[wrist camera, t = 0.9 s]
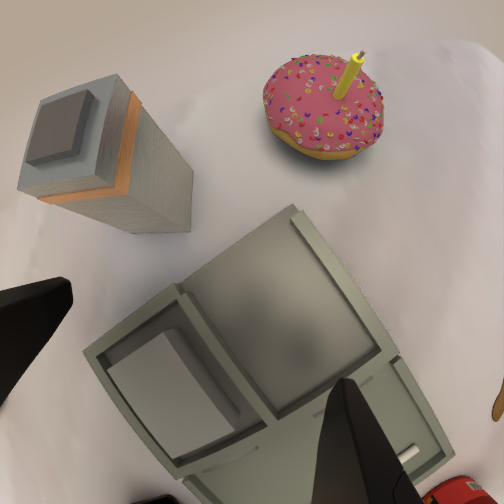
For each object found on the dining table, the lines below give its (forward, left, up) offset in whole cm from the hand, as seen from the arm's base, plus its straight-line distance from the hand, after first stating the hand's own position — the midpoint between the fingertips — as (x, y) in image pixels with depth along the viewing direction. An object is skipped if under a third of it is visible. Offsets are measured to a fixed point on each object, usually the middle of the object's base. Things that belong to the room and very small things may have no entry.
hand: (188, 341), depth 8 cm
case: (-3, -9, -14) cm, 17 cm away
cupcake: (+13, +8, -14) cm, 20 cm away
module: (-1, +11, -14) cm, 17 cm away
